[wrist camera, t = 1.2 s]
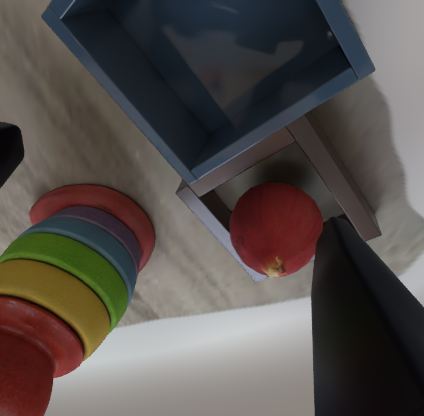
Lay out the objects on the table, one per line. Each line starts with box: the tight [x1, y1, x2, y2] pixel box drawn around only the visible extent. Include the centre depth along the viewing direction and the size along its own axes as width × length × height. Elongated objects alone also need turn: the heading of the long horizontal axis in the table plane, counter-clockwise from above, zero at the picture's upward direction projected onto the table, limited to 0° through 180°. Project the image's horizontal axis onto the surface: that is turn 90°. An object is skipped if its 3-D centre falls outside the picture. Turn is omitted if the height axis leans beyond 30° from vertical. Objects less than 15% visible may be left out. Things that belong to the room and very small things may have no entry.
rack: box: [176, 111, 382, 282], centre depth 23 cm, size 10×10×2 cm
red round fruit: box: [229, 182, 323, 278], centre depth 21 cm, size 6×6×8 cm
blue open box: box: [41, 0, 375, 185], centre depth 16 cm, size 10×10×6 cm
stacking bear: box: [0, 185, 155, 416], centre depth 23 cm, size 11×10×18 cm
